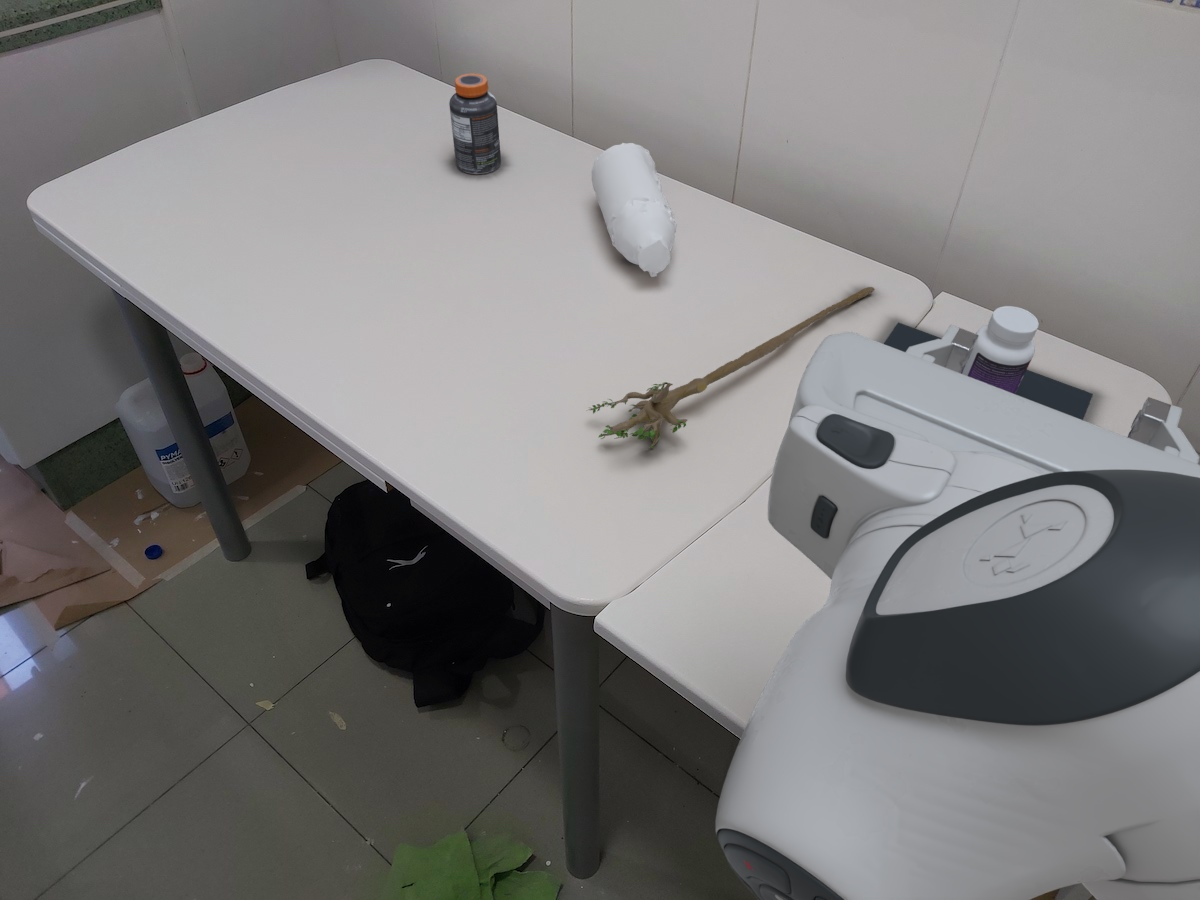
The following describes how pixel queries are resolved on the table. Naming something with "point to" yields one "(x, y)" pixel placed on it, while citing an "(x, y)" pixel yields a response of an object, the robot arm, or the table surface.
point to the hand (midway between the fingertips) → (1055, 374)
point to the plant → (700, 384)
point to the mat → (1029, 388)
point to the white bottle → (634, 206)
